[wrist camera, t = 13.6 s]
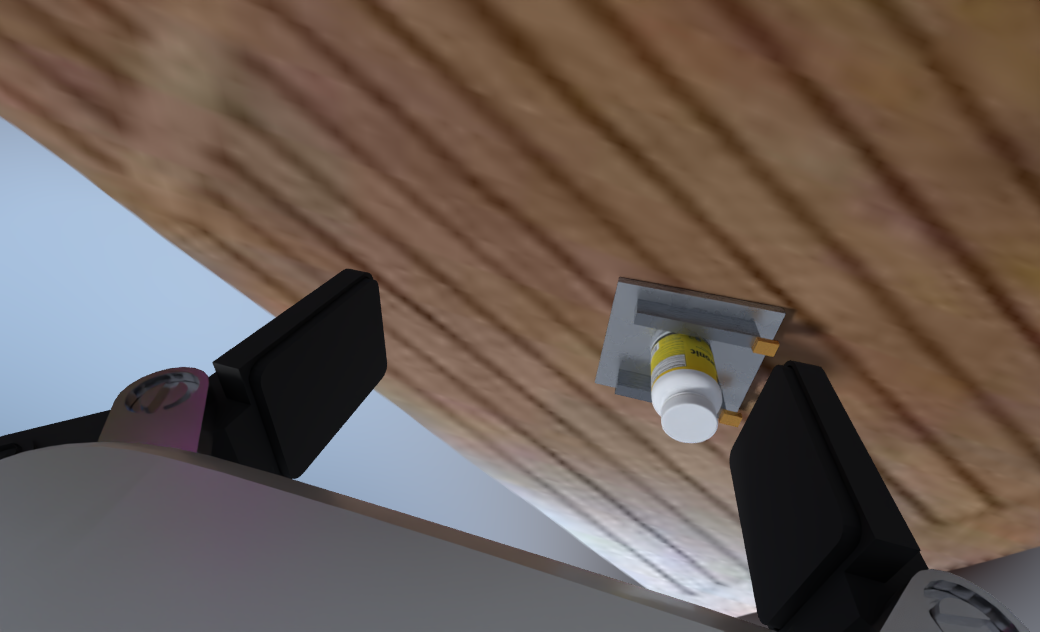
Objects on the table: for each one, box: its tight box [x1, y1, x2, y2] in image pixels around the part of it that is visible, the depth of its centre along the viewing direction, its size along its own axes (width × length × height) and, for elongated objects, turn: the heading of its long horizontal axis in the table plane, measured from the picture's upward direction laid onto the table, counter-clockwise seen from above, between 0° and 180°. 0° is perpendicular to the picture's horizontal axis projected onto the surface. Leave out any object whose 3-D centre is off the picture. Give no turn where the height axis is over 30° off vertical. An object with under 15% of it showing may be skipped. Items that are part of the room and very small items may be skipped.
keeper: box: [595, 277, 786, 427], centre depth 40 cm, size 14×12×4 cm
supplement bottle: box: [651, 331, 722, 443], centre depth 36 cm, size 5×5×10 cm
